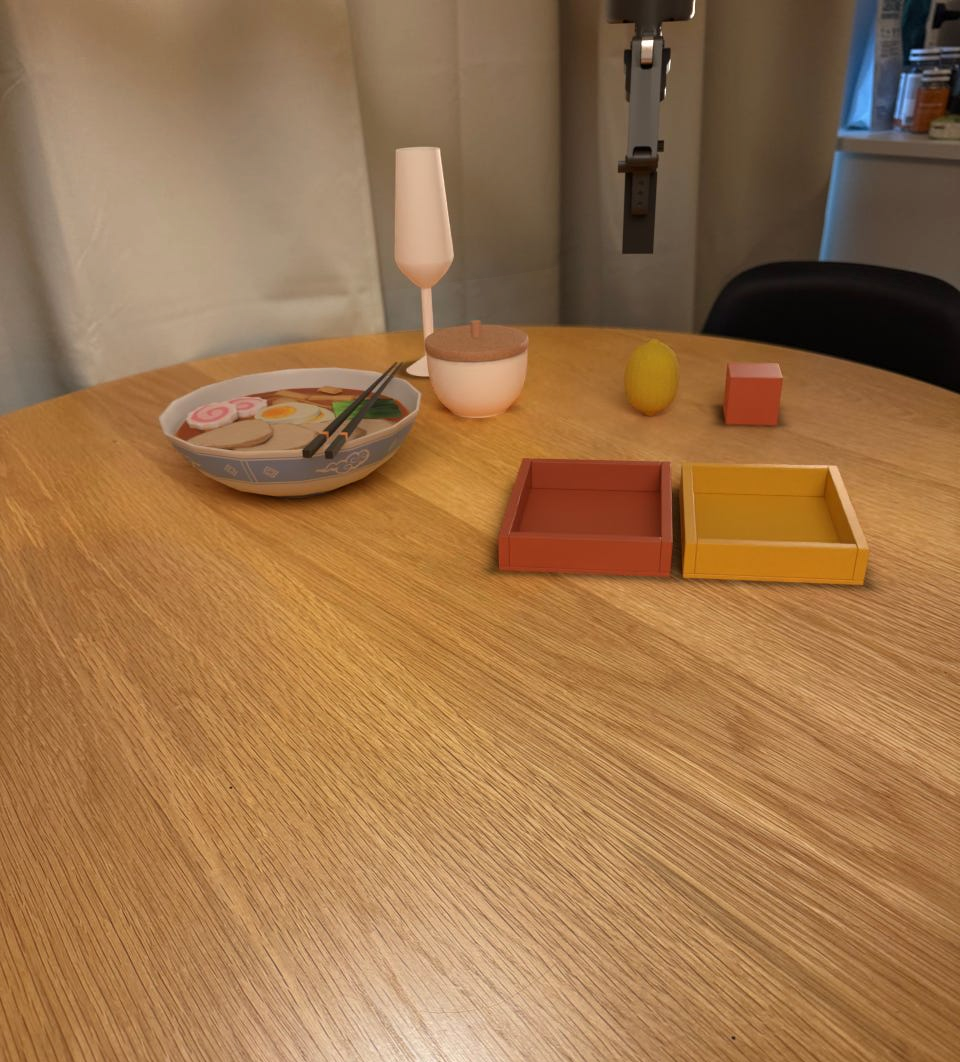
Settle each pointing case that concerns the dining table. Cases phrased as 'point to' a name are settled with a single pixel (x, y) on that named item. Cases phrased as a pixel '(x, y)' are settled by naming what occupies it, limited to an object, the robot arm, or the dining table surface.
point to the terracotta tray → (589, 518)
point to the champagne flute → (421, 228)
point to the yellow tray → (769, 524)
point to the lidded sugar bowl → (477, 367)
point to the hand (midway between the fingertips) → (638, 239)
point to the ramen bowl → (293, 428)
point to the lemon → (652, 377)
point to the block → (752, 393)
